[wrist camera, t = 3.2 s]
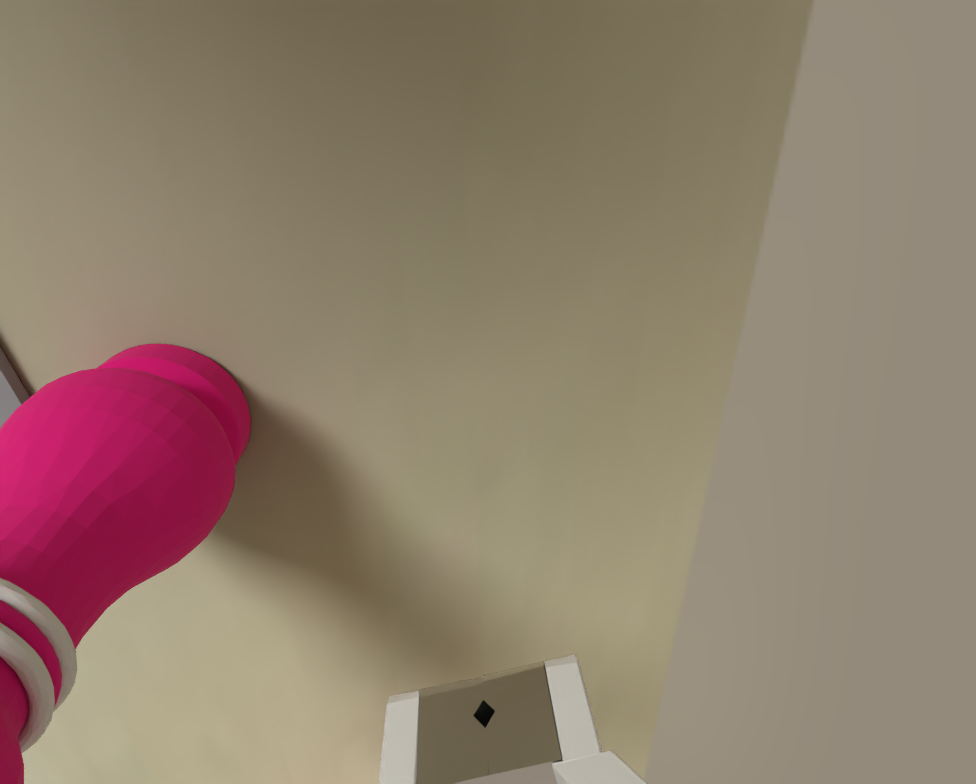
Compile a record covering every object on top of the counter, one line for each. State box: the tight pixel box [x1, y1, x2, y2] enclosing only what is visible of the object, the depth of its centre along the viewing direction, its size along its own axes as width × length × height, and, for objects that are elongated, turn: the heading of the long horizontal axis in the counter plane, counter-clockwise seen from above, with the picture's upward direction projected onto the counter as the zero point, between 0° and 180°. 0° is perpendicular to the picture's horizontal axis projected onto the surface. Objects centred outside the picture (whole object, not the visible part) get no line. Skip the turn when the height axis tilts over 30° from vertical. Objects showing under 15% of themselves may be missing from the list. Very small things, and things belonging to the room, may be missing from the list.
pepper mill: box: [0, 344, 251, 784], centre depth 16 cm, size 7×7×20 cm
